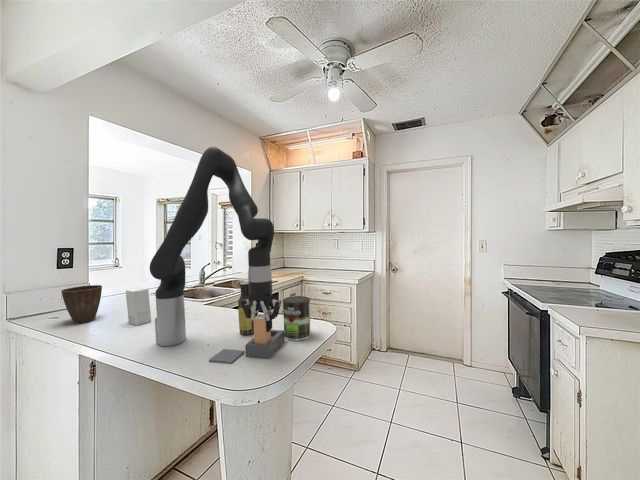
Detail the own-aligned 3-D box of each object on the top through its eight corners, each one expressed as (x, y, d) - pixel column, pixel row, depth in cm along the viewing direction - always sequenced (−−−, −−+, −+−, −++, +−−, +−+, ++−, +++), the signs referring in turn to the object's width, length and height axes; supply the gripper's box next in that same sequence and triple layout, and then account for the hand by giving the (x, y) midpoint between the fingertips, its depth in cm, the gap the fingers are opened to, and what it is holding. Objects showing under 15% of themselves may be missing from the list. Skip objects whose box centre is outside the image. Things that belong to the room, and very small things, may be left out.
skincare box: (151, 321, 130) (149, 288, 129) (135, 326, 124) (133, 291, 124) (142, 319, 134) (140, 287, 134) (127, 323, 129) (125, 289, 128)
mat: (208, 361, 88) (208, 359, 88) (223, 350, 95) (223, 349, 95) (231, 363, 86) (231, 361, 86) (244, 352, 94) (244, 350, 94)
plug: (254, 346, 91) (253, 317, 91) (259, 341, 95) (258, 313, 95) (265, 347, 90) (264, 317, 90) (270, 342, 94) (269, 314, 94)
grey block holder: (245, 357, 90) (245, 344, 90) (264, 339, 104) (263, 329, 104) (268, 358, 88) (268, 346, 88) (284, 341, 102) (284, 330, 102)
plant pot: (59, 323, 132) (56, 289, 132) (97, 314, 145) (95, 283, 144) (69, 328, 124) (66, 292, 123) (109, 319, 136) (107, 286, 136)
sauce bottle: (257, 333, 111) (255, 283, 110) (242, 336, 108) (240, 285, 107) (252, 328, 116) (250, 281, 116) (237, 332, 113) (235, 283, 112)
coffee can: (304, 342, 100) (303, 303, 100) (279, 339, 104) (277, 301, 103) (315, 332, 110) (313, 296, 110) (291, 329, 114) (290, 295, 113)
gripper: (284, 277, 94) (286, 327, 94) (246, 277, 97) (248, 325, 98) (276, 281, 87) (278, 336, 87) (234, 281, 90) (236, 333, 91)
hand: (262, 330), depth 93 cm, fingers closed on plug, 4 cm apart
